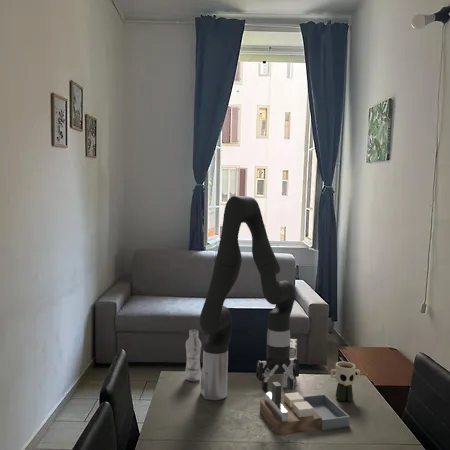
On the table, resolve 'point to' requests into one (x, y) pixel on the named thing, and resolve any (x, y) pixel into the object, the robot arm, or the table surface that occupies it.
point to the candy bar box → (292, 354)
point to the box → (328, 412)
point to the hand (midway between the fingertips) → (277, 390)
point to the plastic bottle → (193, 356)
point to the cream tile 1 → (292, 398)
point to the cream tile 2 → (303, 409)
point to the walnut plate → (290, 420)
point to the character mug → (345, 379)
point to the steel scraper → (276, 402)
